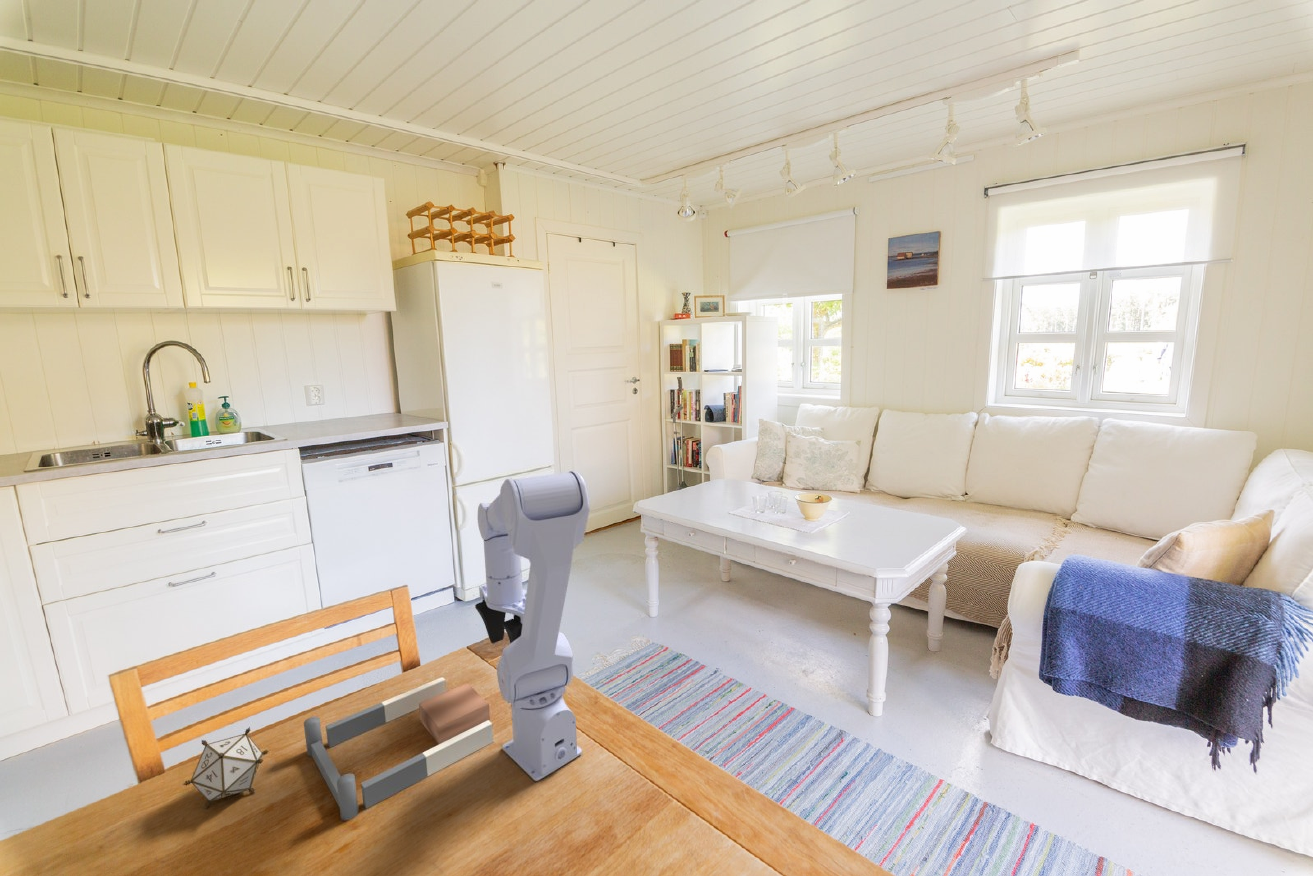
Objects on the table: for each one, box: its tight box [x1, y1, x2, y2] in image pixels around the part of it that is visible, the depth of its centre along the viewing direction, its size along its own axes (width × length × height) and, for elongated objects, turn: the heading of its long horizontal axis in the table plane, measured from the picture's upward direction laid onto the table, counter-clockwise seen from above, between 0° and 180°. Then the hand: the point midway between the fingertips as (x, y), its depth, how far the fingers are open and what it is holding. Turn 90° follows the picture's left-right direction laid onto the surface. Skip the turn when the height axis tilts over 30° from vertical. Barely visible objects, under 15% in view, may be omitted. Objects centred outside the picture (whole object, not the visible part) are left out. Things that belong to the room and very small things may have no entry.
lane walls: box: [381, 676, 494, 777], centre depth 89 cm, size 17×10×3 cm, turn 44°
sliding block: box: [418, 682, 491, 745], centre depth 91 cm, size 8×8×4 cm
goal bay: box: [303, 701, 429, 822], centre depth 82 cm, size 18×11×5 cm, turn 44°
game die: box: [182, 726, 270, 810], centre depth 76 cm, size 9×8×10 cm
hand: (508, 649), depth 97 cm, fingers open, 7 cm apart
